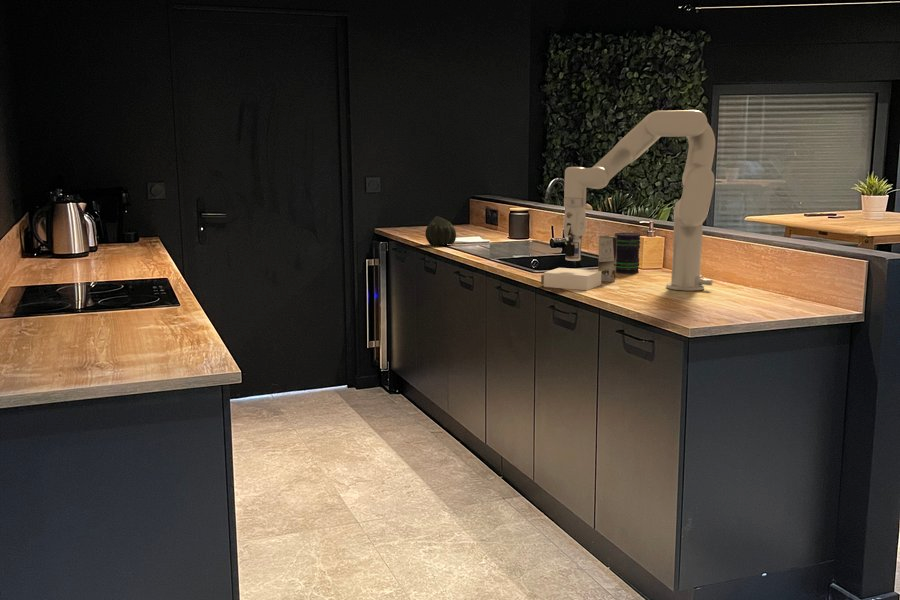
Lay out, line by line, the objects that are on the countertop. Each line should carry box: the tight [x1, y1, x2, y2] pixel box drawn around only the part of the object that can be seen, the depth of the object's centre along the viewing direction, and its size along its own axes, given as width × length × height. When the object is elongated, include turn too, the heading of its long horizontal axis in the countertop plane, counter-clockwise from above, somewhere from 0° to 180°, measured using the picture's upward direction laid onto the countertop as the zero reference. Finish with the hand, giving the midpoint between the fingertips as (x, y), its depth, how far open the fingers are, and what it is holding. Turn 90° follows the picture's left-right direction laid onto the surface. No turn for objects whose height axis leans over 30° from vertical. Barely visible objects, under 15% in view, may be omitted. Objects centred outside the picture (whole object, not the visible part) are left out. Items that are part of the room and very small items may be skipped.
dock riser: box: [540, 267, 602, 291], centre depth 304 cm, size 17×14×5 cm
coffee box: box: [597, 234, 617, 283], centre depth 316 cm, size 9×6×16 cm
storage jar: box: [614, 232, 641, 275], centre depth 336 cm, size 10×10×15 cm
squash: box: [424, 215, 457, 247], centre depth 426 cm, size 14×15×15 cm
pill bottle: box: [564, 234, 582, 262], centre depth 302 cm, size 5×5×10 cm
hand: (573, 254), depth 302 cm, fingers closed on pill bottle, 5 cm apart
